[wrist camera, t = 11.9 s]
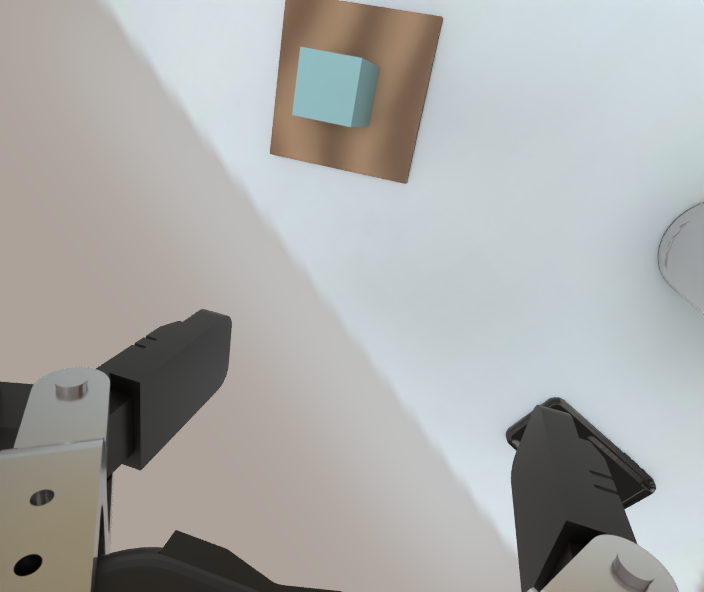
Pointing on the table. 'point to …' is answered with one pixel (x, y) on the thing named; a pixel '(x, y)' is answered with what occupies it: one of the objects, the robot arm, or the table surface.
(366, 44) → the walnut board
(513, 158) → the table surface
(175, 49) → the table surface
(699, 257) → the robot arm
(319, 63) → the teal block
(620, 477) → the phone
